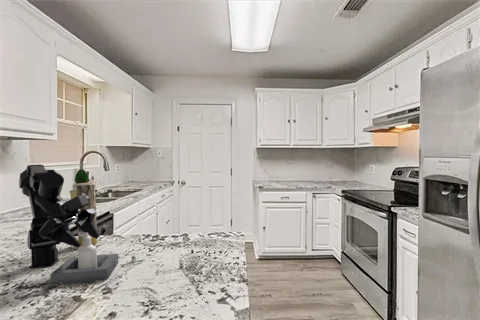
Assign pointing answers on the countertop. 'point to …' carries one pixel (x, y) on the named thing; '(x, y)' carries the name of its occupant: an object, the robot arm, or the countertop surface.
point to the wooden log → (87, 206)
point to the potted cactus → (79, 181)
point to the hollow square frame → (85, 270)
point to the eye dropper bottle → (87, 253)
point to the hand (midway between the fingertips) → (89, 241)
